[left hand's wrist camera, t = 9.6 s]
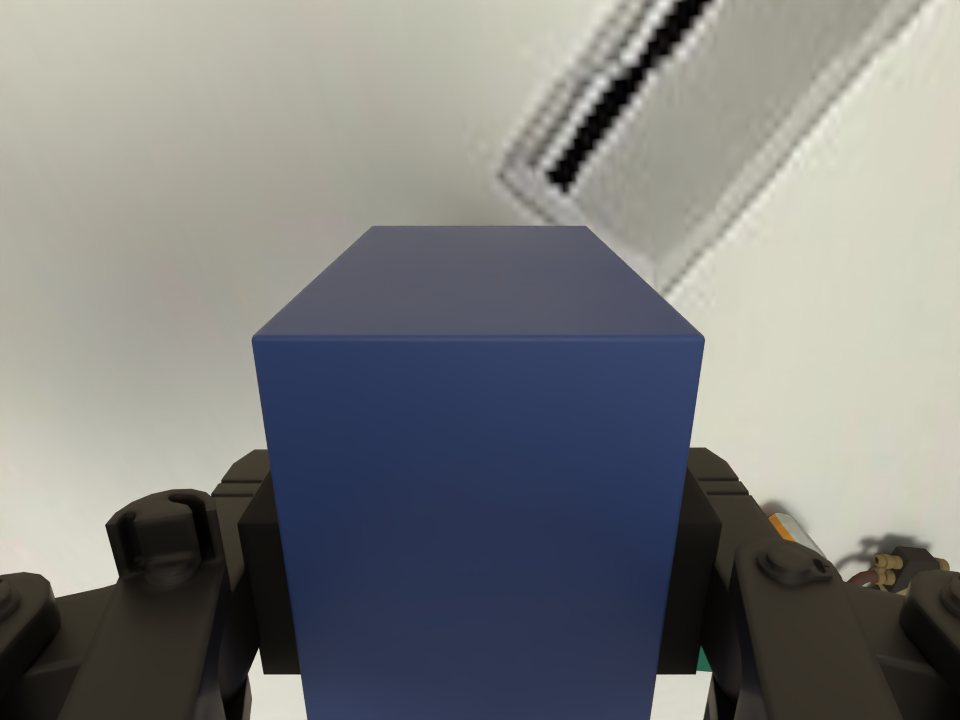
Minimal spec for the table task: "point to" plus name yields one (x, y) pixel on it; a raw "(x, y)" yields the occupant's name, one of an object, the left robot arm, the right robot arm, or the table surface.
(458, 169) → the table surface
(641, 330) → the brick
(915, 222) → the table surface
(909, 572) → the spray gun
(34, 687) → the left robot arm
